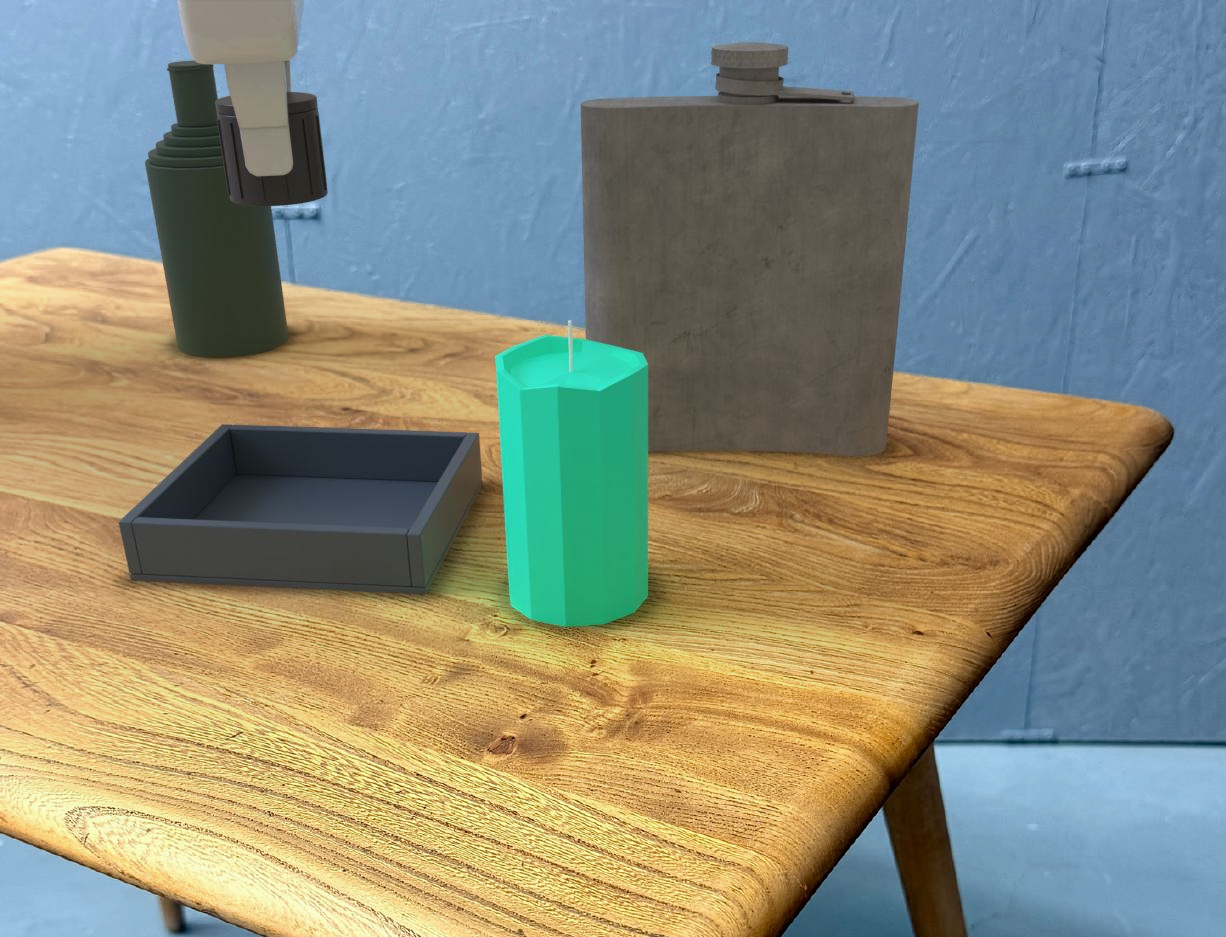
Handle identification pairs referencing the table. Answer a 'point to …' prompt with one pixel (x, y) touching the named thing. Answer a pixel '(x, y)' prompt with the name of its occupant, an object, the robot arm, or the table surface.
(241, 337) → the flask
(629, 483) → the candle
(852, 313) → the hip flask
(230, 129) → the cap
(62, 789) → the table surface
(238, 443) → the tray
